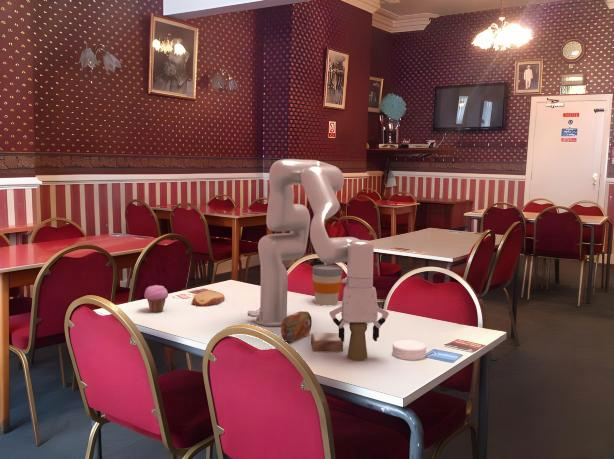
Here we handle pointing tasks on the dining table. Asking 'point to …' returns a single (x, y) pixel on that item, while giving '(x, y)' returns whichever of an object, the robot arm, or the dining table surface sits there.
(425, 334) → the dining table surface
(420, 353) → the white round disc
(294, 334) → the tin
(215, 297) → the bread slice
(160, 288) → the cupcake
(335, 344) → the plinth
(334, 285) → the reusable coffee cup
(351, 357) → the cork
